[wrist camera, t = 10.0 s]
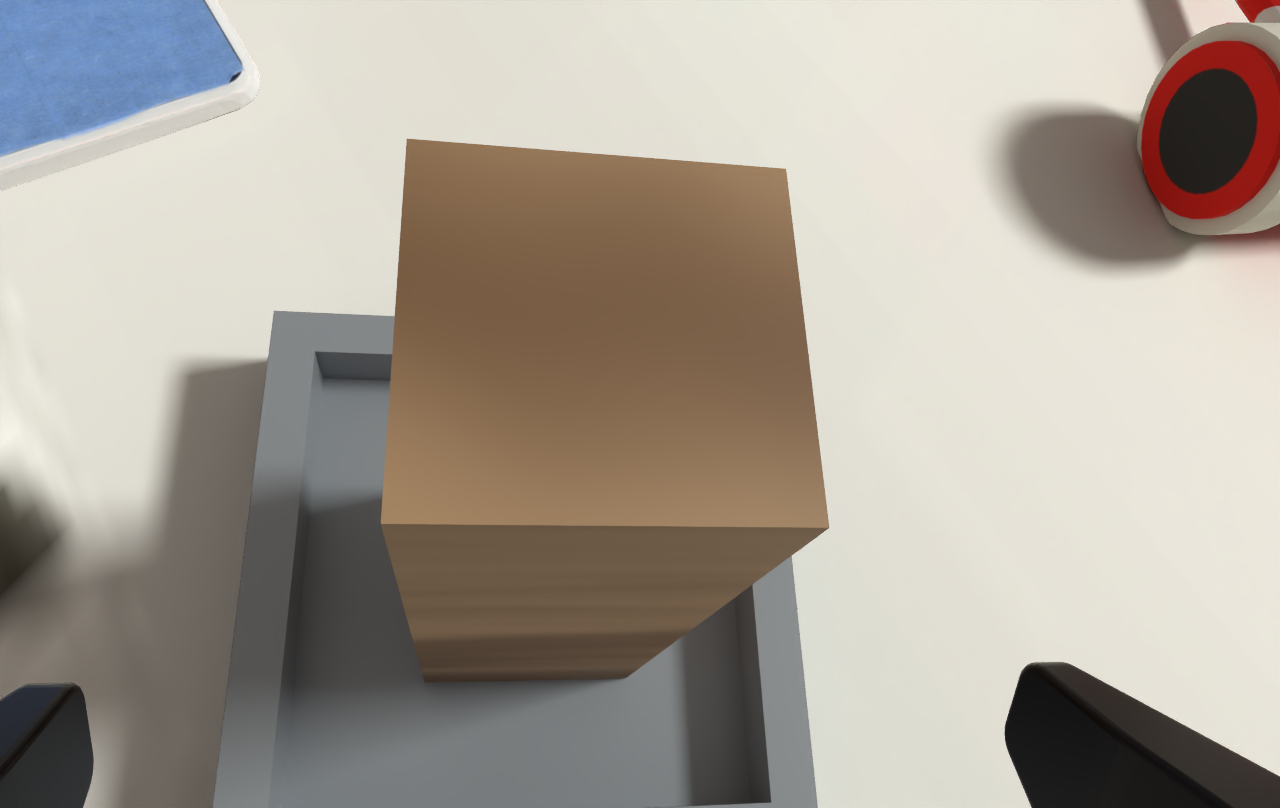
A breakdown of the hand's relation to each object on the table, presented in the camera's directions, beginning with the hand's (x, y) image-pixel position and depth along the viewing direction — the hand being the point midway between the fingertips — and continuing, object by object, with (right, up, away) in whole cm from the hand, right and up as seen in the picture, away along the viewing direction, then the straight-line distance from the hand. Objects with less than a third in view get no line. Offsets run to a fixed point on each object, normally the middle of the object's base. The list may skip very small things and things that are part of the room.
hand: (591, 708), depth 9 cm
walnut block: (-2, -1, +13) cm, 13 cm away
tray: (-2, -2, +14) cm, 14 cm away
